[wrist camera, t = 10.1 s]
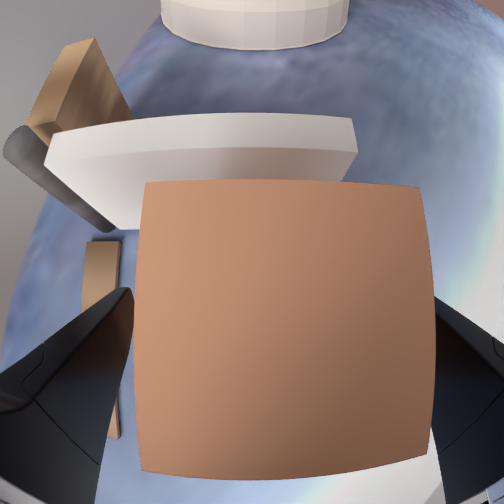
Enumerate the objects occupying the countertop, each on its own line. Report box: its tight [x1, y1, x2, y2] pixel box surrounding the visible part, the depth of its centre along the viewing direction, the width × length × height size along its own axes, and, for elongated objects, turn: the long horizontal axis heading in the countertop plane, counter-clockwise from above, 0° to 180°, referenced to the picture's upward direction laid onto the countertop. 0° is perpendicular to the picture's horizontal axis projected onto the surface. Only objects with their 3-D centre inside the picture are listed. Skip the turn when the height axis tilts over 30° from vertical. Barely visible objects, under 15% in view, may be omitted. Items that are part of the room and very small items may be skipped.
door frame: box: [3, 37, 135, 439], centre depth 13 cm, size 22×2×10 cm, turn 0°
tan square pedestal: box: [134, 179, 436, 480], centre depth 11 cm, size 7×7×13 cm
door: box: [44, 113, 358, 230], centre depth 14 cm, size 12×3×9 cm, turn 90°
